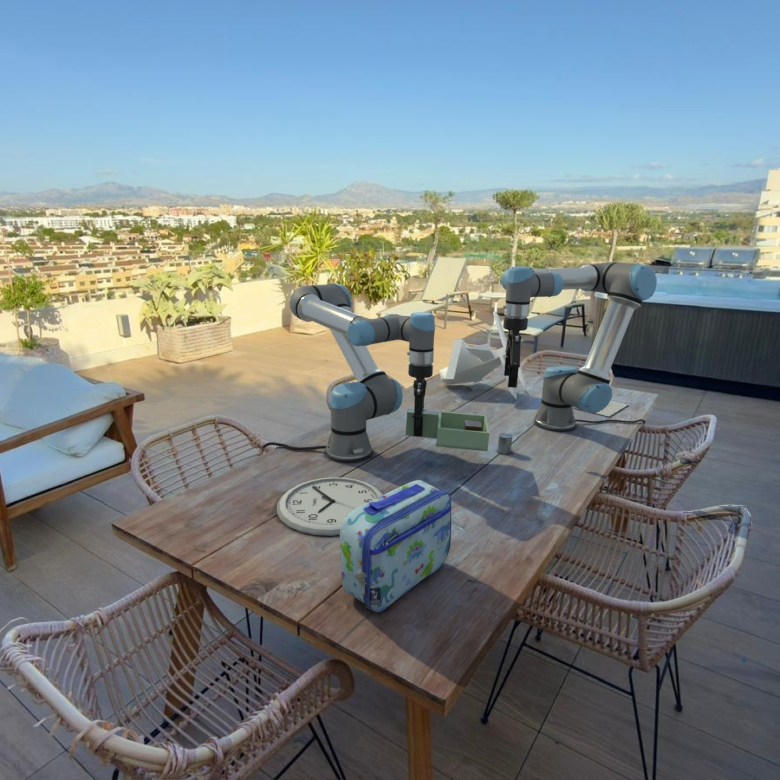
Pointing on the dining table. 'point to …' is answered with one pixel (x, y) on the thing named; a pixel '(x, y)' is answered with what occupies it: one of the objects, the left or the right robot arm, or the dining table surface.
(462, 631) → the dining table surface
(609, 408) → the invitation card
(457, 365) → the white plastic object
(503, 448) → the grey metal peg
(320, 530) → the wall clock
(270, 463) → the dining table surface
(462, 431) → the tray
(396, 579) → the lunch box
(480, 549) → the dining table surface
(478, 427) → the walnut block
